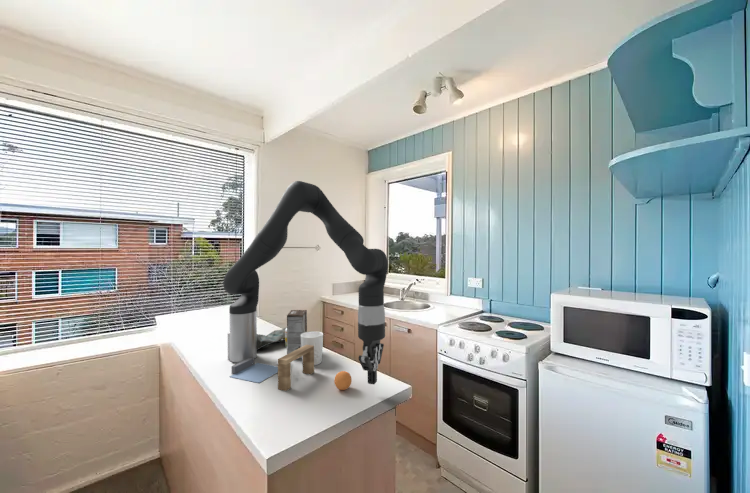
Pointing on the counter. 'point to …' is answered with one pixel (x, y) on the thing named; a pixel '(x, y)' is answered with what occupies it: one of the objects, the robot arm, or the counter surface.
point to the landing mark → (256, 373)
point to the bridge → (285, 365)
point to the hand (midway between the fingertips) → (372, 383)
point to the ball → (343, 380)
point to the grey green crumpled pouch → (270, 338)
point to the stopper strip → (242, 365)
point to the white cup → (315, 340)
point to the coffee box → (295, 329)
